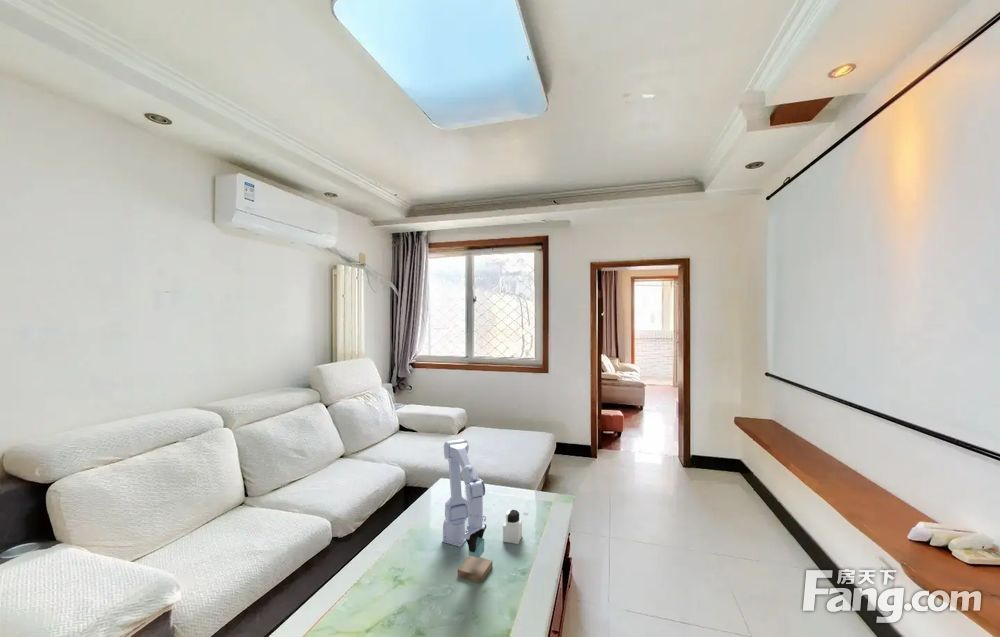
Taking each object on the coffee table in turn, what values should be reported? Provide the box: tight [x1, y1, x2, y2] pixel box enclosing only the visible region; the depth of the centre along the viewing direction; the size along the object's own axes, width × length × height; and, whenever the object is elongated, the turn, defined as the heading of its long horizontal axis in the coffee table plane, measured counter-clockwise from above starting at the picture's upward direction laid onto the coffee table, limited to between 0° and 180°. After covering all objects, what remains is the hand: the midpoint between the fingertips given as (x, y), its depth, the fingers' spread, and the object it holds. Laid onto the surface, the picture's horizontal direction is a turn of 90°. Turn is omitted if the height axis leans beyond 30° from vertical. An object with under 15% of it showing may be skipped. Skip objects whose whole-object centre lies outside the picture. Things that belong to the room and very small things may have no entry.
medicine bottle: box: [502, 509, 523, 545], centre depth 170 cm, size 7×7×12 cm
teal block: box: [468, 537, 485, 558], centre depth 148 cm, size 4×4×5 cm
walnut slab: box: [457, 554, 493, 584], centre depth 148 cm, size 10×10×3 cm
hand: (475, 547), depth 148 cm, fingers closed on teal block, 4 cm apart
